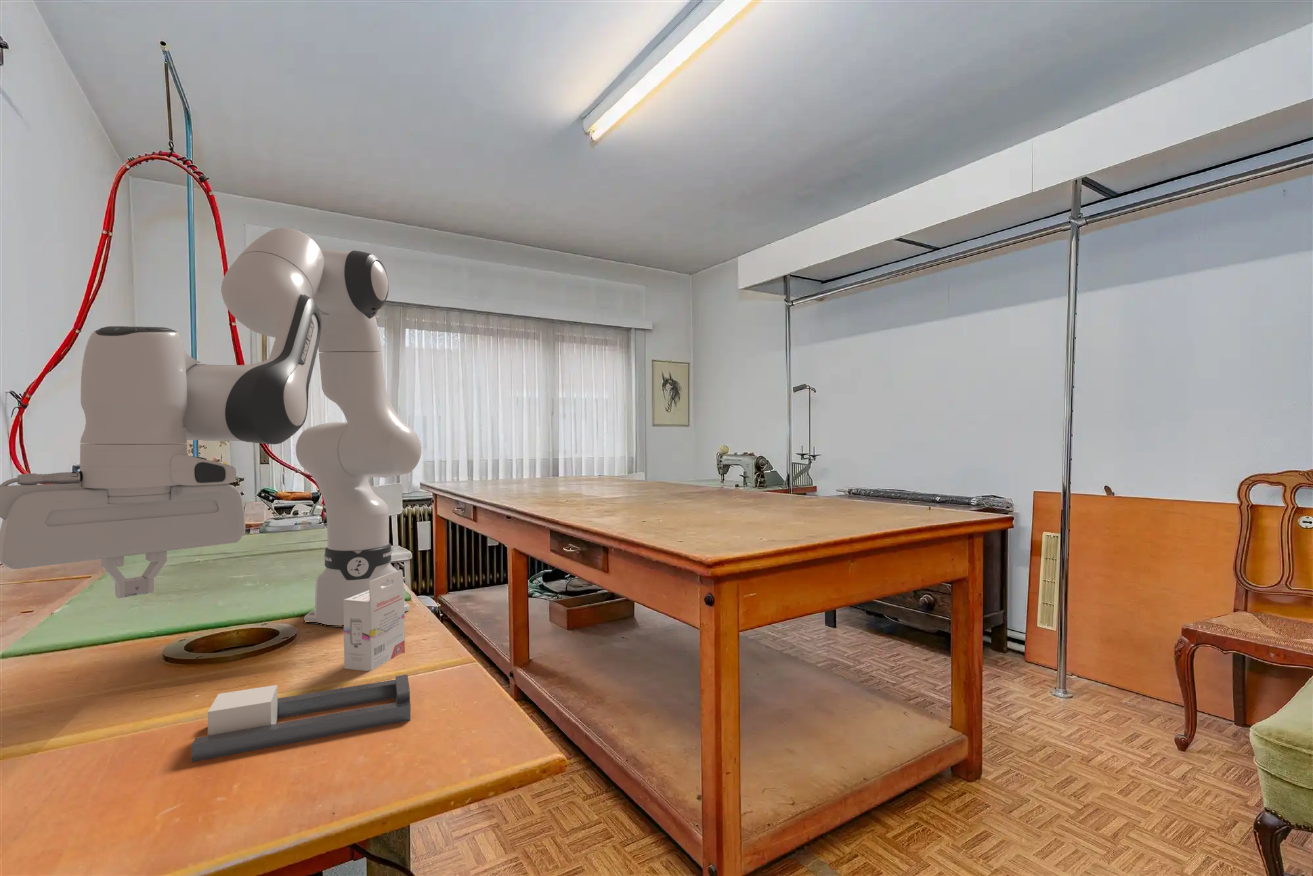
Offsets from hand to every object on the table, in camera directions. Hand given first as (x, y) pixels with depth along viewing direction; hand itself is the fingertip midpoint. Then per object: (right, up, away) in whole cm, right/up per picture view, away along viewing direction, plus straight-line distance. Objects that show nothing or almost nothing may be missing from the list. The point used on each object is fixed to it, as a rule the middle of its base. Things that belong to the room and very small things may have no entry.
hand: (134, 594), depth 65 cm
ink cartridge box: (+13, -19, +28) cm, 36 cm away
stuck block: (+9, -18, +5) cm, 20 cm away
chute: (+15, -19, +8) cm, 25 cm away
